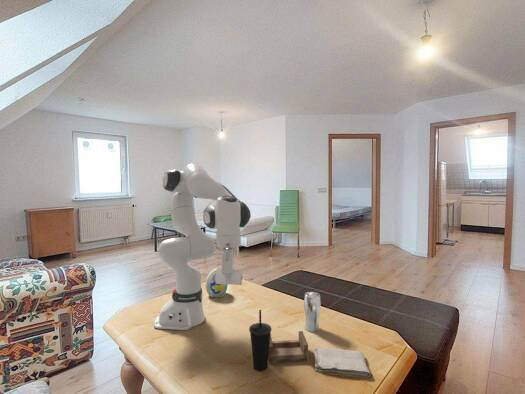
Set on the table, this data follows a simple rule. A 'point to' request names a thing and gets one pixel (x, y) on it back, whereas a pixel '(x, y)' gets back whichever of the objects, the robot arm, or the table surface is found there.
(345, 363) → the washcloth
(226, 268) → the robot arm
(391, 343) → the table surface
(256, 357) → the drinking cup
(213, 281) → the decorative egg
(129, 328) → the table surface
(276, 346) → the cradle
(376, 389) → the table surface
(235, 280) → the roll
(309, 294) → the silver tumbler
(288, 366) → the table surface
